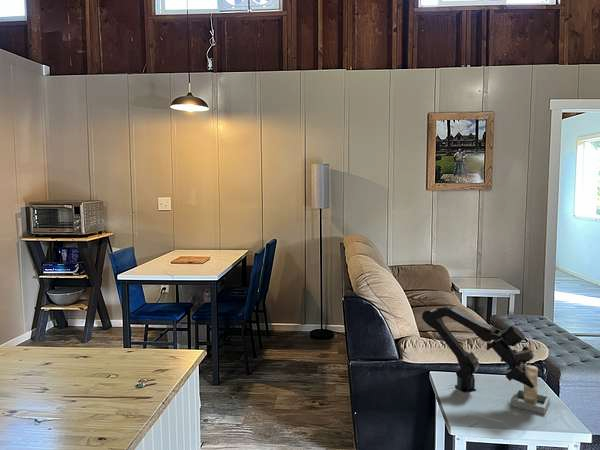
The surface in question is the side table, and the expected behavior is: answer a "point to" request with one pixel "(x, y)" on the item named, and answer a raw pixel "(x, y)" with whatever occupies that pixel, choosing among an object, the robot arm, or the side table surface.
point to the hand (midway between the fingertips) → (534, 385)
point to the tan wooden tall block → (532, 374)
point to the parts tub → (527, 405)
